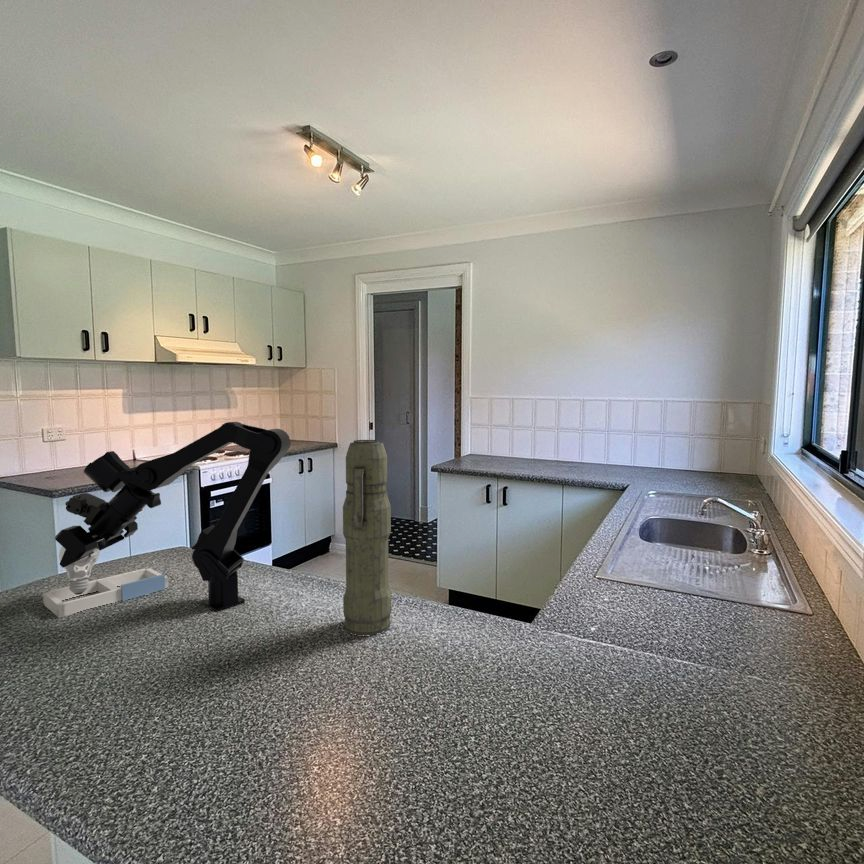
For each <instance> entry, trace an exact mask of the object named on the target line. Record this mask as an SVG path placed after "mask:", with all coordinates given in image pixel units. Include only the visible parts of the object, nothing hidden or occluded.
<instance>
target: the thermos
mask: <svg viewBox="0 0 864 864" xmlns="http://www.w3.org/2000/svg"><path fill="white" fill-rule="evenodd" d="M345 455H346V456H345V484H346V490H345V497H344V498H345V499H344V502H343V505H342V535H343V537H344V539H345V592H344V594H343V597H342V599H343V600H342V601H343V602H342V603H343V604H342V606H343V607H342V608H343V617H344V624H343V625H344V626H343V627H344V630H345V631H346V632H347V631H348V632H349V633H348V632H347V633H348V634H350V633H352V634H356V635H355V636H357V635H374V634H377V633H381V634H383V633H384V632H383V631H385V632H387V631H388V630H389V629H390V628H391V623H392V621H391V613H392V592H391V588H390V585H389V537H390V535H391V533H392V532H391V531H392V529H391V528H392V527H391V525H392V524H391V523H392V516H391V513H392V509H391V507H392V506H391V503H390V500H389V497H388V489H387V483H388V454H387V451H386V449H385V445H384V442H383V441H382V442H381V441H380V440H378V439H356V440H353V442H350V443H349V446H348V447H347V451H346V454H345ZM389 627H390V628H389ZM388 628H389V629H388ZM386 630H387V631H386ZM382 632H383V633H382ZM352 634H351V635H352ZM374 636H375V635H374Z"/></svg>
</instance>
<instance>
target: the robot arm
mask: <svg viewBox="0 0 864 864" xmlns="http://www.w3.org/2000/svg"><path fill="white" fill-rule="evenodd" d="M291 443H292V442H291V438H290V436H289V434H288V433H287V431H285V430H283V429H281V428H272V429H266V428H262V427H257V426H252V425H248V424H244V423H241V422H239V421H226V422H225V423H223V424H221V426H219V427H218V428H215V429H214V430H212V431H211V432H209V433H207V434H205V435H203V436H201V437H200V438H198V439H196V440H194V441H193V442H191V443H189V444H187V445H185V446H184V447H182V448H180V449H178V450H176V451H174V452H173V453H169V454H166V455H163V456H160V457H156V458H154V459H151V460H147V461H145V462H142V463H140V464H139V465H137V466H135V467H134V466H133V467H130V466H129V465H128V464H127V463H125V462H124V460H122V458H121V457H120V456H119V455H118V453H116V451H114V450H111V451H106V452H105V453H104V454H103V455H101V456H99V457H98V458H97V459H94V460H93V461H92V462H90V463H88V464H87V466H86V467H85V468H84V470H83V474H85V475H86V476H87V477H88V479H90V480H91V481H92V482H93V483H94V484H95V485H96V486H97V487H98V488H100V489H101V490H102V491H103V492H104V493H108V492H110V491H111V492H112V493H115V492H117V493H116V494H114V496H113V497H112V498H111V499H110V500H109V501H106V500H105V499H103V498H100V497H98V496H96V495H93V494H91V493H88V492H82V493H79V494H75V495H72V497H70V498H69V499H68V500H67V501H66V502H65V504H64V505H65V506H66V507H65V510H66V511H67V512H68V513H71V514H74V515H75V516H76V515H78V516H80V517H82V518H84V520H83V522H84V524H85V525H87V526H89V527H88V528H87V531H86V529H84V528H83V527H82V526H81V525H72V526H68V527H66V528H64V529H61V530H60V531H59V532H58V533H57V534H56V535H55V536H54V538H55V541H56V542H57V543H58V544H60V545H61V547H62V546H63V547H64V548H65V549H66V550H65V552H64V555H63V557H62V559H61V562H59V566H60V567H62V568H64V567H66V566H68V565H70V564H72V563H74V562H76V561H78V560H80V559H82V558H85V557H87V556H89V555H91V554H93V553H94V552H93V551H94V550H95V549H96V548H97V544H98V546H99V550H100V551H102V550H105V549H106V548H108V547H111V546H113V545H115V544H117V543H119V542H121V541H124V540H125V538H126V539H127V538H129V537H131V536H133V535H134V533H136V532H137V531H138V523H137V522H136V520H137V519H138V517H137V515H139V513H140V512H141V511H142V510H143V508H145V507H146V506H147V507H148V508H150V509H154V508H156V507H158V506H161V504H162V501H161V498H160V497H161V493H160V492H157V493H156V492H153V490H156V489H159V488H162V487H165V486H169V485H171V483H173V482H174V481H175V480H177V479H178V478H179V477H181V475H183V473H185V471H186V470H187V469H189V468H190V467H191V466H193V465H195V464H196V463H198V462H200V461H202V460H204V459H206V458H208V457H209V456H210V455H211V456H212V455H213V454H215V453H217V452H218V451H220V450H222V449H224V448H226V447H227V446H229V445H230V444H235V445H236V446H237V445H238V446H240V447H241V448H244V449H247V450H249V452H248V461H247V467H246V469H245V470H244V472H243V474H242V475H241V479H240V480H239V482H238V483H237V485H236V487H235V490H234V491H233V493H232V495H231V496H230V499H229V500H228V502H227V504H226V506H225V507H224V508H223V511H222V513H221V515H220V516H219V519H218V521H217V522H216V524H212V525H210V526H209V527H207V528H205V529H203V530H202V531H200V533H199V535H198V538H197V541H196V543H195V544H194V545H193V546H192V547H191V548H190V549H191V550H193V551H192V554H191V560H192V562H193V565H194V566H195V567H196V568H197V571H198V572H199V575H200V577H201V579H202V581H203V582H207V584H208V585H207V587H208V590H207V591H208V592H207V593H208V598H207V599H204V600H201V604H202V605H203V606H205V605H206V606H205V607H207V608H209V609H212V610H213V611H215V612H218V611H221V610H224V609H228V608H231V607H234V606H237V605H240V604H242V603H246V598H243V597H241V596H239V575H238V570H239V569H241V568H242V566H243V563H244V561H245V557H243V556H242V555H240V553H239V552H238V551H237V550H235V546H236V542H237V537H238V529H240V526H241V524H242V522H243V520H244V519H245V517H246V514H247V513H248V511H249V509H250V507H251V505H252V504H253V502H254V500H255V499H256V496H257V495H258V492H259V491H260V489H261V487H262V486H263V483H264V482H265V480H266V477H267V476H268V474H269V472H271V471H272V470H273V468H274V467H275V466H277V464H278V463H279V462H280V461H281V459H282V458H283V457H284V456H285V455H286V454H287V452H288V451H289V449H290V447H291ZM123 533H124V534H123ZM64 569H65V568H64Z"/></svg>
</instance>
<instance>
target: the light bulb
mask: <svg viewBox="0 0 864 864" xmlns="http://www.w3.org/2000/svg"><path fill="white" fill-rule="evenodd" d="M65 550H66V549H65V548H64V547H63V546H62V545H61V548H60V549H59V553H58V558H59V561H60V562H61V559H62V557H63V555H64V552H65ZM100 551H101V550H99V546H98V544H97V548H96V549H95V550H94V551H93V552H94V553H93V554H91V555H89V556H87V557H85V558H82V559H80V560H78V561H76V562H74V563H72V564H70V565H68V566H66V567H64V569H65V570H66V574H67V578H68V580H69V584H68V586H70V587H69V589H70V591H72V592H73V593H74V594H76V595H79V594H82V593H83V592H84V591H85V590H86V589H87V588H88V587H89V586H88V584H89V583H88V582H89V577H90V576H91V571H92V569H93V568H94V565H95V564H96V562H97V561H98V559H99V556H100V553H101V552H100ZM60 562H59V563H60Z"/></svg>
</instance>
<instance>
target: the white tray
mask: <svg viewBox="0 0 864 864" xmlns="http://www.w3.org/2000/svg"><path fill="white" fill-rule="evenodd" d="M88 583H89V584H88V586H89V587H88V588H87V589H86V590H85V591H84V592H83V593H82V594H79V595H83V594H87V593H91V592H96V591H98V592H99V593H98V592H96V593H94V594H90V595H86V596H82V597H80V598H79V597H78V598H77V597H76V596H79V595H76V594H74V593H73V592H72V591H70V589H69V587H70V586H69V585H67V586H65V587H64V586H63V587H60V588H56V589H52V590H51V589H50V590H48V591H47V590H46V591H42V603H43V604H42V605H44V606H45V608H47V609H48V610H50V611H51V613H53V615H55V616H56V617H58V618H59V619H60V618H63V617H68V616H71V615H75V614H78V613H77V612H79V613H81V612H80V611H82V612H84V611H83V610H86V609H90V608H94V607H97V608H99V607H98V606H101V607H103V606H102V605H105V606H107V605H106V604H108V605H111V604H110V603H112V604H115V602H116V603H118V601H119V602H126V601H125V600H127V601H129V600H128V599H130V600H133V599H132V598H134V599H137V598H136V597H138V598H140V597H139V596H142V597H144V596H143V595H145V596H147V595H146V594H149V595H151V594H150V593H153V592H156V591H159V590H163V589H165V588H167V587H168V588H169V577H168V576H166V575H165V574H163V573H161V572H159V571H156V570H154V569H152V568H150V567H145V568H141V569H137V570H133V571H127V572H125V573H120V574H114V575H111V576H106V577H103V578H98V579H94V580H90V581H88ZM117 586H120V587H117ZM168 588H167V589H168ZM165 590H166V589H165ZM156 593H157V592H156ZM153 594H154V593H153ZM72 597H76V599H75V598H74V599H73V598H72ZM69 598H72V600H71V599H69ZM65 599H68V600H65ZM62 600H64V602H63V601H62ZM121 600H122V601H121ZM94 609H95V608H94ZM90 610H91V609H90ZM86 611H87V610H86ZM74 613H75V614H74Z"/></svg>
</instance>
